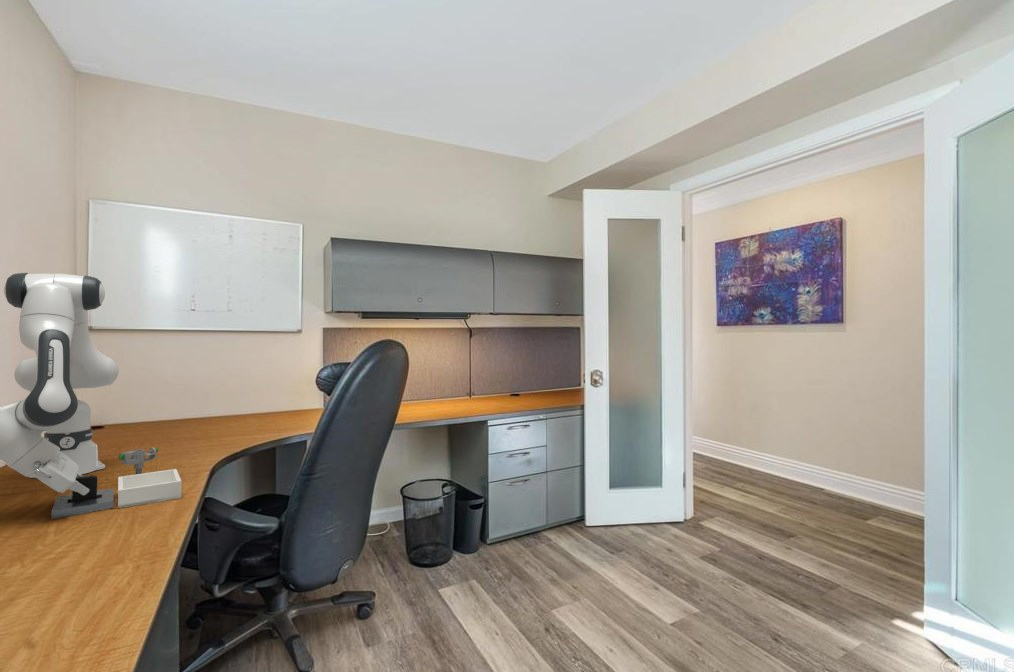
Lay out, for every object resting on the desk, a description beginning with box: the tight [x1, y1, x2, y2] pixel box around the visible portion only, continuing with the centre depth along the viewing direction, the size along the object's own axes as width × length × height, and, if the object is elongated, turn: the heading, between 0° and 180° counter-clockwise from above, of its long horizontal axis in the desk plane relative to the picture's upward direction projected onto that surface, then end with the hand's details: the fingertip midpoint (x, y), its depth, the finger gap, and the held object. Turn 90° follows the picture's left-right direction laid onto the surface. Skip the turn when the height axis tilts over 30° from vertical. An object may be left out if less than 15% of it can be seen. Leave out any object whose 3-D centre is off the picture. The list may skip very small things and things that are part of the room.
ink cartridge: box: [71, 474, 98, 503], centre depth 131 cm, size 5×2×8 cm, turn 128°
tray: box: [117, 468, 182, 509], centre depth 139 cm, size 16×14×5 cm
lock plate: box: [51, 487, 115, 520], centre depth 131 cm, size 14×12×2 cm
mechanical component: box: [118, 447, 159, 475], centre depth 152 cm, size 3×10×10 cm, turn 155°
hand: (88, 489), depth 131 cm, fingers open, 5 cm apart
